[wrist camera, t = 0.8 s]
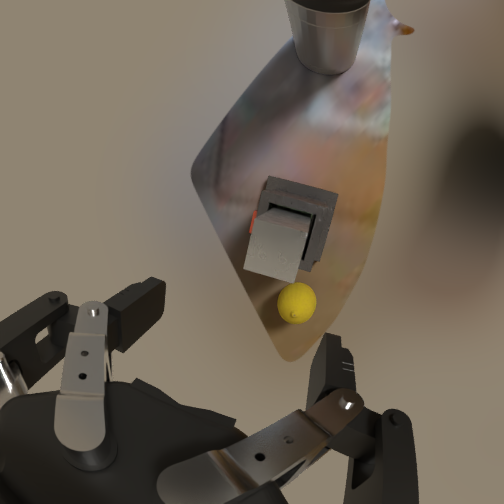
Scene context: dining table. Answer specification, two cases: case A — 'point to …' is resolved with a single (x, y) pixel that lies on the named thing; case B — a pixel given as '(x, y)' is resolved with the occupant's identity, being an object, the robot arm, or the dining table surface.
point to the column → (278, 243)
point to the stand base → (304, 200)
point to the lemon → (296, 303)
